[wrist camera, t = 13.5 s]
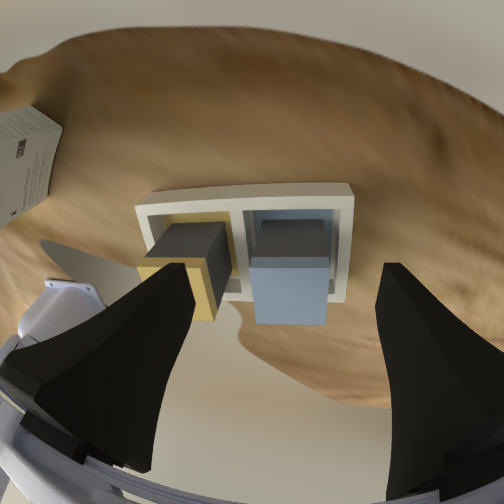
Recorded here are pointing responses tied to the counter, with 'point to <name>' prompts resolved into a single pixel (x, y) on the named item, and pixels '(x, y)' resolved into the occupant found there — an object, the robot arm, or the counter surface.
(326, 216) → the rack
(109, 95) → the counter surface
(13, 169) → the skincare box
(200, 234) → the ochre plug
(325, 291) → the blue plug
